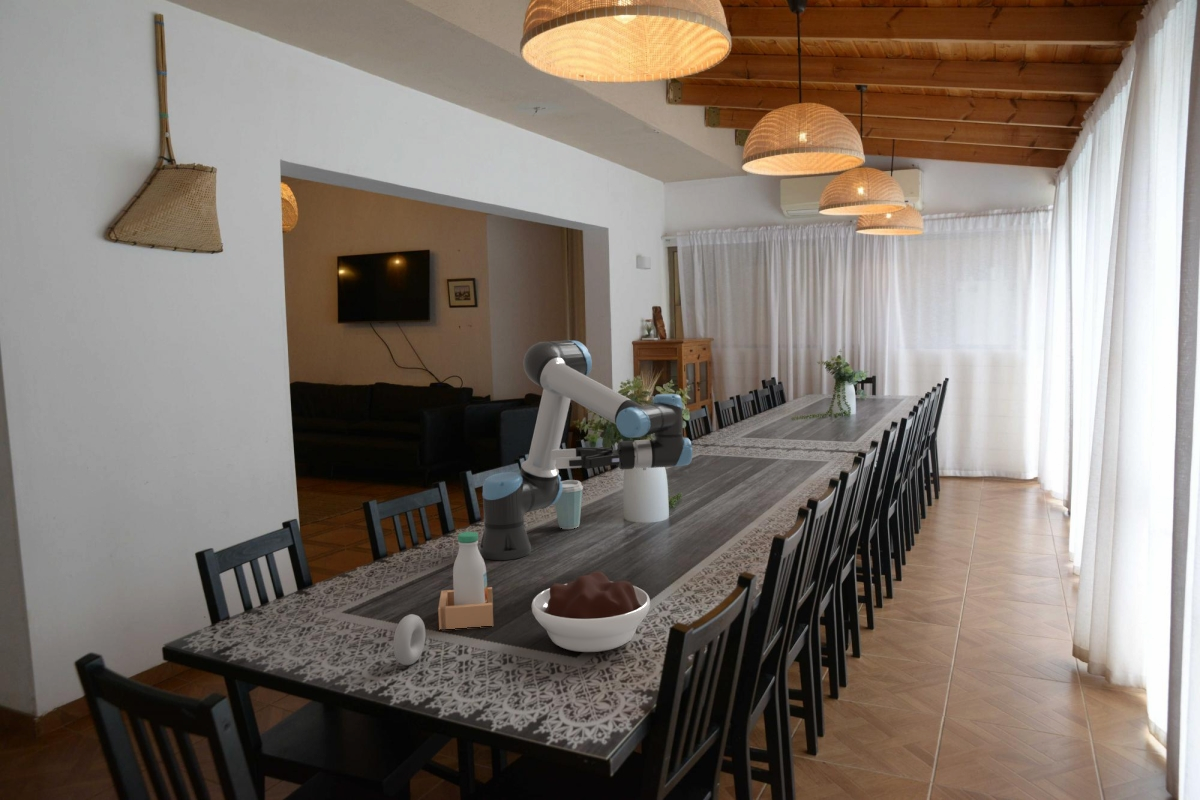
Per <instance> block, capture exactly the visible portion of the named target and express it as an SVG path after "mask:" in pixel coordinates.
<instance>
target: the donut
mask: <svg viewBox="0 0 1200 800" xmlns="http://www.w3.org/2000/svg"><path fill="white" fill-rule="evenodd" d="M425 626H426V625H425V623H424V621H423V619H422V618H421V617H420V616H419V615H417V614H413V613H411V614H410V613H409V614H407V615H406V616H404V617H403V618H402V619H400V621H399V622H398V624H397V627H396V629H395V631H394V634H393V635H394V636H393V644H392V645H393V646H392V650H393V655H394V657H395V660H396V661H397V662H398V663H399V665H400V664H401V665H403V666H411V665H413V664H415V663H416V662H417V661H418V660H419V659H420V657H421V655H422V653H423V651H424V648H425V643H426V627H425Z"/></svg>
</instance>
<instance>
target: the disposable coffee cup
mask: <svg viewBox="0 0 1200 800" xmlns="http://www.w3.org/2000/svg"><path fill="white" fill-rule="evenodd" d="M560 481H561V482H562V493H561V496H560V498H559V499H558V501H557V502H556V503H554V504H553V505H554V508H555V514H556V517H557V523H558V526H559V528H560V529H561V528H562V529H561V530H574V528H575V529H577V527H578V528H579V527H580V523H581V512H582V511H581V510H582V500H583V489H584V486H583V485H582V482H581V481H580V480H577V479H576V480H575V479H567V480H560Z"/></svg>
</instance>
